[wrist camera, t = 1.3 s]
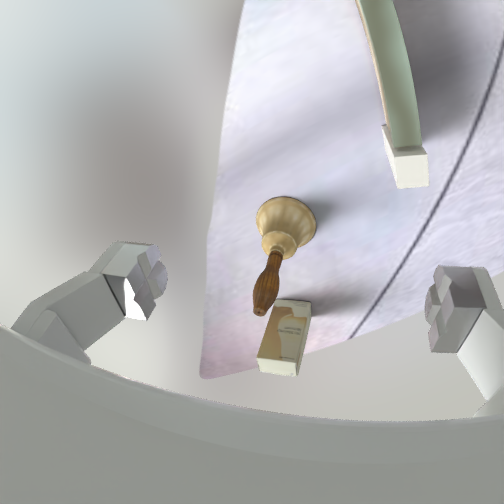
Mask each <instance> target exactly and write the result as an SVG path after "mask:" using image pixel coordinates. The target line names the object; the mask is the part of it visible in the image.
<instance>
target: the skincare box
mask: <svg viewBox="0 0 504 504" xmlns="http://www.w3.org/2000/svg"><path fill="white" fill-rule="evenodd" d="M310 321H311V303H310V302H304V301H293V300H281V299H276V300H275V303H274V306H273V309H272V312H271V315H270V318H269V321H268V324H267V327H266V330H265V333H264V336H263V339H262V342H261V346H260V348H259V351H258V354H257V357H256V359H257V364H258V368H259V371H261V372H267V373H274V374H278V375H288V376H295V377H297V376H298V373H299V369H300V365H301V361H302V356H303V352H304V348H305V344H306V339H307V335H308V330H309V326H310Z"/></svg>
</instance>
